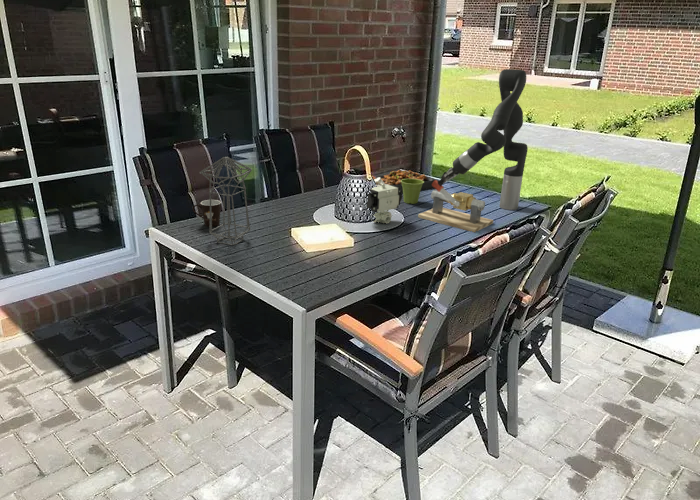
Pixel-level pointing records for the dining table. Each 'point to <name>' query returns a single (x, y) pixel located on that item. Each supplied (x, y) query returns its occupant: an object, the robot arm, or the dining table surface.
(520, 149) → the robot arm
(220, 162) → the geometric lantern
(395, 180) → the food platter
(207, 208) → the coffee mug
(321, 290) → the dining table surface
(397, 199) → the ball valve
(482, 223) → the mounting board
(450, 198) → the valve lever
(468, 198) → the valve body
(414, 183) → the plant pot
